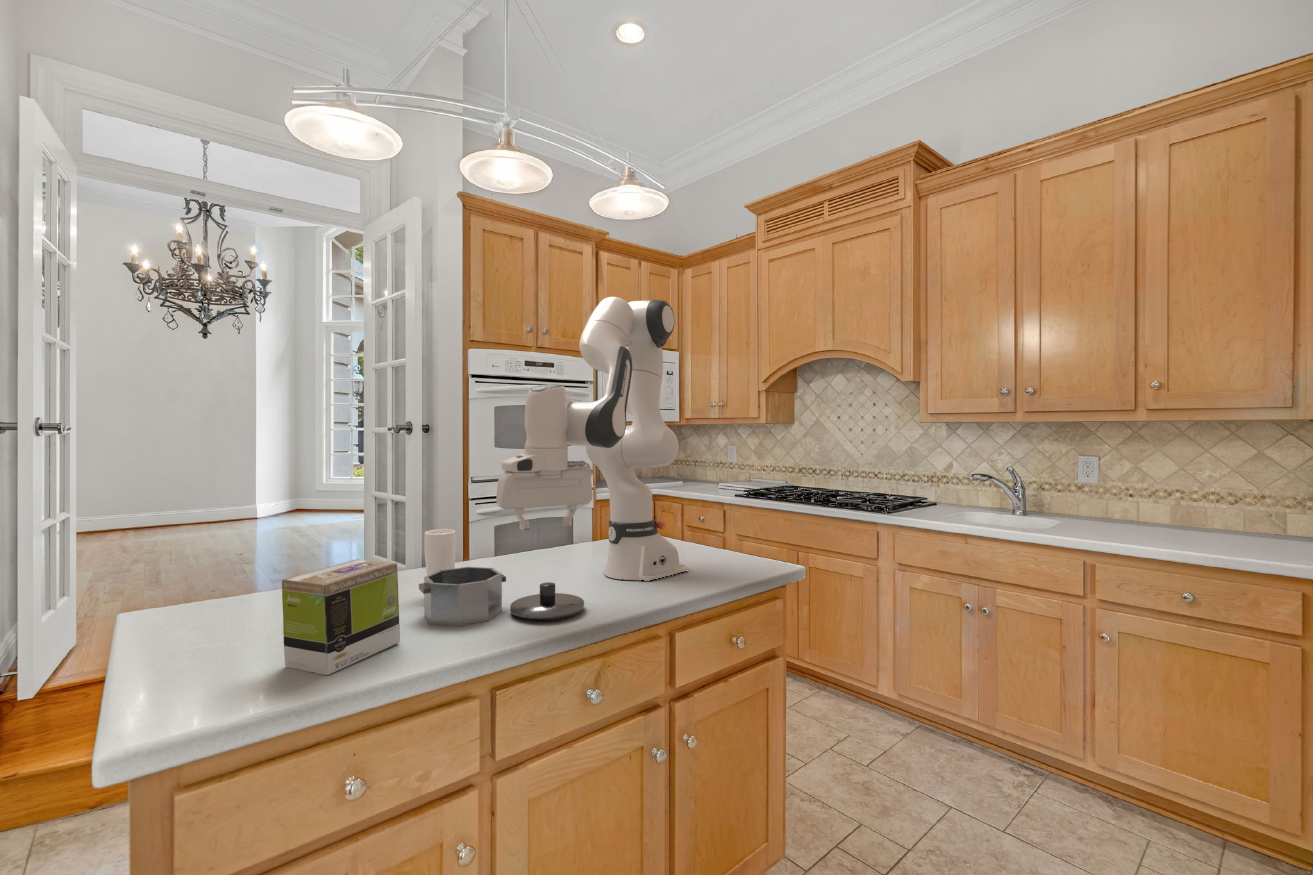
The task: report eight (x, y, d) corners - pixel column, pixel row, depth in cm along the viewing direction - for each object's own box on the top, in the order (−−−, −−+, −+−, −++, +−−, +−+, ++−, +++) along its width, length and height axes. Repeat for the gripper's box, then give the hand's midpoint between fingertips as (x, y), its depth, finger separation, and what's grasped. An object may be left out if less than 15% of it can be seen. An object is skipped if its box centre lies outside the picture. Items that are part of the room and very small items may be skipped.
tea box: (359, 636, 109) (358, 557, 109) (401, 644, 105) (400, 561, 105) (281, 668, 95) (280, 576, 95) (326, 677, 91) (325, 582, 91)
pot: (492, 598, 132) (491, 563, 132) (514, 615, 121) (514, 577, 120) (413, 611, 123) (413, 573, 123) (429, 631, 111) (429, 589, 111)
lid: (565, 598, 134) (565, 571, 134) (596, 616, 121) (596, 587, 121) (500, 609, 125) (499, 581, 125) (526, 630, 113) (526, 599, 112)
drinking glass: (461, 593, 137) (460, 529, 137) (448, 601, 130) (447, 534, 130) (433, 592, 138) (433, 528, 137) (419, 601, 131) (418, 533, 131)
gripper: (584, 459, 131) (584, 521, 131) (493, 462, 120) (493, 529, 120) (597, 461, 126) (597, 525, 126) (504, 463, 114) (503, 534, 115)
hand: (546, 527), depth 123 cm, fingers open, 8 cm apart
